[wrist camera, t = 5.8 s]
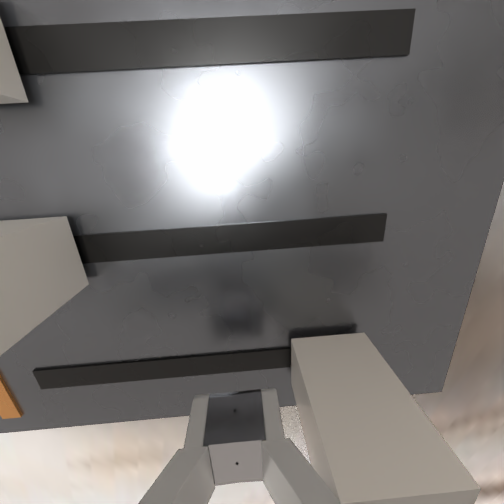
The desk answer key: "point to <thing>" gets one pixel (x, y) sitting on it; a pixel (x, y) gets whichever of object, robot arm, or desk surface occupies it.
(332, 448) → the block
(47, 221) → the block
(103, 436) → the desk surface
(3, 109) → the grey slider panel
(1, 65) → the block
